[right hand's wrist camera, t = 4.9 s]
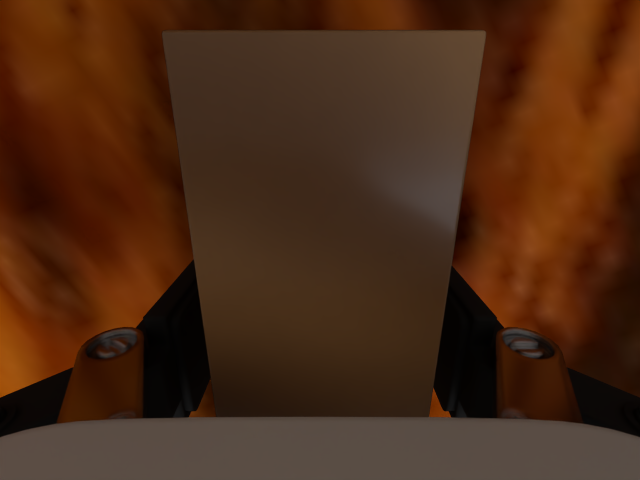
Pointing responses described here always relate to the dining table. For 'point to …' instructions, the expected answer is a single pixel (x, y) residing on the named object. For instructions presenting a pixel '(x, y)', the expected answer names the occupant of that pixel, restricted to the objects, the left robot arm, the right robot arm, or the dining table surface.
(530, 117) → the dining table surface
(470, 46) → the beam
